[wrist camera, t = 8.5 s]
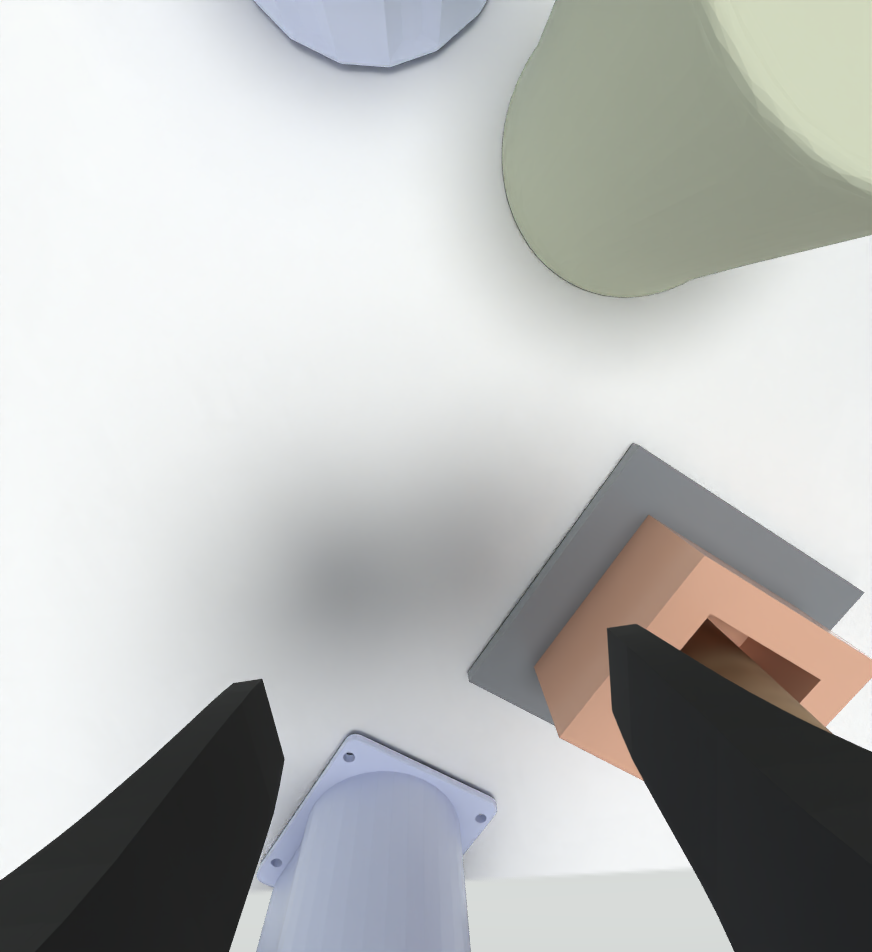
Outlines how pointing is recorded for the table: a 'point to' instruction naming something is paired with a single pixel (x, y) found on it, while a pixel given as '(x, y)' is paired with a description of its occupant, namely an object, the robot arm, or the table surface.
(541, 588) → the terracotta holder
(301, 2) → the soap bottle
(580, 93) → the can
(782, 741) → the robot arm
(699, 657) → the walnut peg
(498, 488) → the table surface
